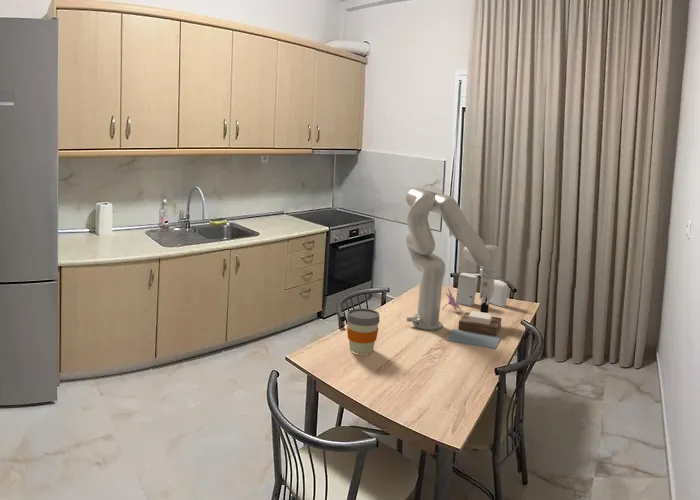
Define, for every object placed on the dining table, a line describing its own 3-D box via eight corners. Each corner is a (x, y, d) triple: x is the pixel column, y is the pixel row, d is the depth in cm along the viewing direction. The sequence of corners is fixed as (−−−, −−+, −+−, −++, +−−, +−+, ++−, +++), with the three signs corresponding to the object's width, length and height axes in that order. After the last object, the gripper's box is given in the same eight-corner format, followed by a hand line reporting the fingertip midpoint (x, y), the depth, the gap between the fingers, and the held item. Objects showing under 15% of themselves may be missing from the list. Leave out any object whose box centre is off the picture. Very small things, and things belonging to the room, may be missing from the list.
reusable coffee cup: (358, 359, 224) (360, 321, 221) (338, 347, 234) (340, 311, 231) (384, 352, 232) (386, 315, 228) (364, 342, 242) (366, 306, 238)
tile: (471, 316, 267) (472, 310, 267) (492, 319, 264) (492, 314, 264) (468, 321, 260) (468, 315, 260) (489, 324, 257) (489, 319, 256)
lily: (447, 318, 279) (459, 301, 277) (430, 302, 286) (441, 286, 283) (459, 320, 288) (470, 304, 286) (442, 304, 295) (453, 289, 293)
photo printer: (485, 302, 302) (487, 278, 299) (490, 300, 305) (493, 277, 302) (502, 307, 294) (504, 283, 292) (507, 306, 297) (510, 282, 294)
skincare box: (455, 303, 298) (458, 274, 295) (459, 300, 303) (461, 271, 300) (471, 306, 294) (474, 277, 291) (475, 303, 299) (478, 274, 296)
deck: (464, 320, 273) (465, 312, 272) (500, 326, 268) (501, 318, 267) (458, 330, 260) (459, 321, 260) (495, 336, 255) (496, 327, 254)
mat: (453, 329, 261) (453, 328, 261) (500, 337, 254) (500, 337, 254) (446, 340, 248) (446, 339, 248) (495, 349, 241) (495, 348, 241)
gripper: (494, 278, 259) (489, 318, 263) (499, 270, 272) (495, 309, 277) (476, 275, 261) (472, 315, 266) (482, 268, 275) (478, 306, 279)
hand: (484, 312), depth 271 cm, fingers closed
